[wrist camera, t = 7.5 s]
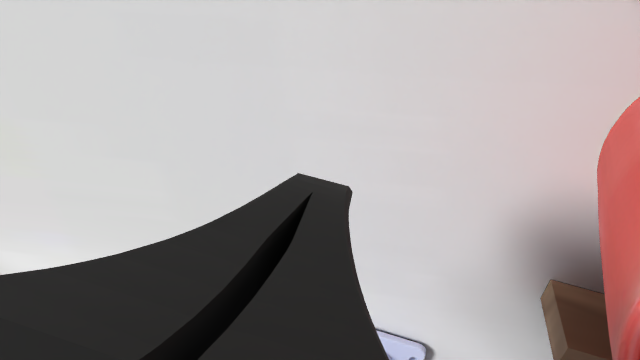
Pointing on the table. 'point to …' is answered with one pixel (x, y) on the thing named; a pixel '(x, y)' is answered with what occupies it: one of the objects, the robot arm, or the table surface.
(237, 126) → the table surface
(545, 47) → the table surface
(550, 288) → the wooden tray
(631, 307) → the flower pot
